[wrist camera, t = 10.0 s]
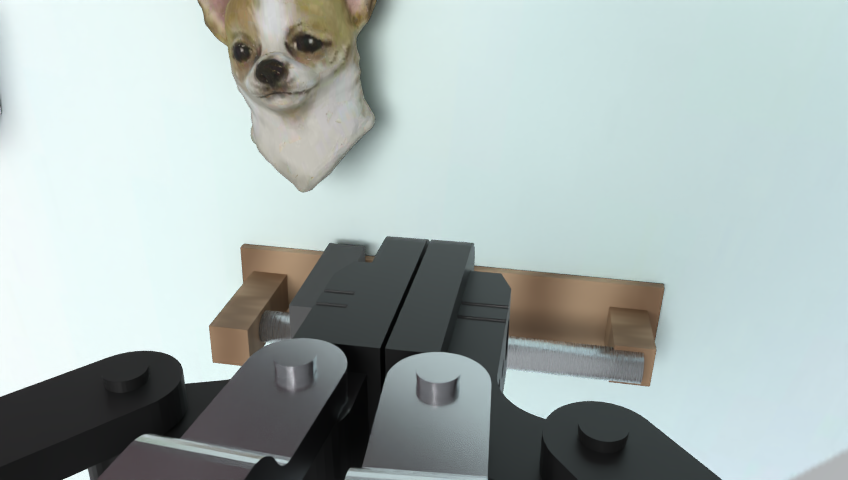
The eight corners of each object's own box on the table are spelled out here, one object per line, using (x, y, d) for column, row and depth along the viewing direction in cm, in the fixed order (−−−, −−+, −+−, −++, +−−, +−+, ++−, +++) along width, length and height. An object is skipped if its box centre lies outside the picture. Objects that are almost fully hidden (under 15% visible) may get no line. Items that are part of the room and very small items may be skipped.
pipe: (641, 336, 45) (646, 360, 43) (635, 373, 46) (639, 398, 44) (244, 295, 48) (229, 315, 46) (247, 330, 50) (232, 351, 47)
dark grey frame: (365, 246, 49) (330, 309, 41) (365, 355, 52) (334, 431, 45) (329, 243, 49) (289, 305, 42) (332, 351, 53) (295, 427, 45)
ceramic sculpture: (202, 211, 41) (127, -84, 36) (259, 169, 49) (203, -77, 44) (391, 192, 39) (339, -123, 34) (418, 152, 47) (379, -109, 42)
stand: (663, 283, 48) (682, 351, 41) (648, 362, 50) (664, 439, 43) (243, 243, 52) (193, 299, 44) (249, 319, 54) (202, 383, 47)
